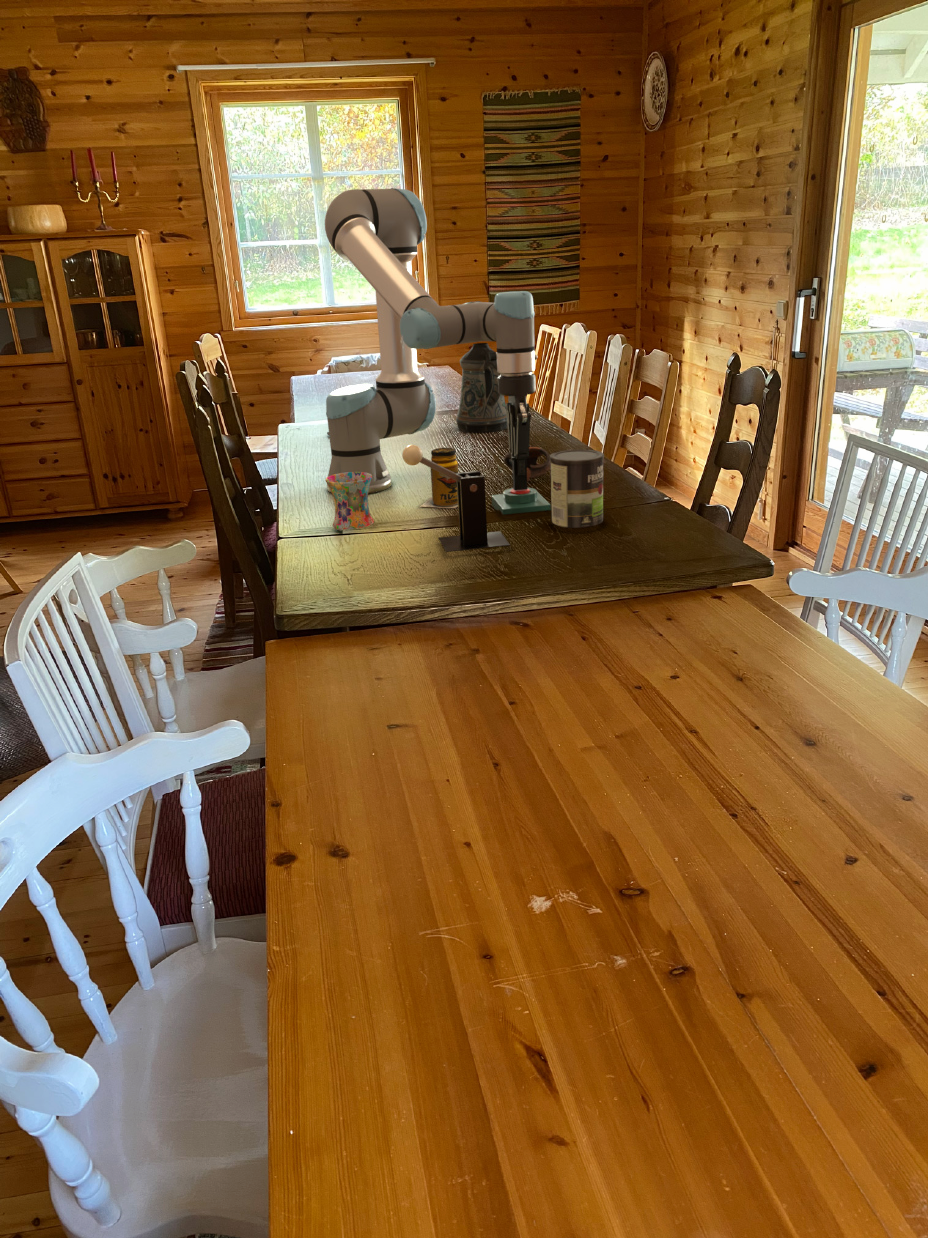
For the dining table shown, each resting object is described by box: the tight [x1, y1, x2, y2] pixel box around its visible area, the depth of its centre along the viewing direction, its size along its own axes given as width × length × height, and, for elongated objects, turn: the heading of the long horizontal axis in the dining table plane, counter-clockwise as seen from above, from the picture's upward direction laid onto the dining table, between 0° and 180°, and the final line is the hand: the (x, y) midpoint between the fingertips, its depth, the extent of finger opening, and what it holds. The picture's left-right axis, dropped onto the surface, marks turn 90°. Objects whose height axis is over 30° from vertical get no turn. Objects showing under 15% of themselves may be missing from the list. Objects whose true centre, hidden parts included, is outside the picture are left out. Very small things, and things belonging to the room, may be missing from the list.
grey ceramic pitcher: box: [455, 342, 508, 434], centre depth 276 cm, size 16×19×25 cm
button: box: [511, 489, 530, 494], centre depth 192 cm, size 4×4×2 cm
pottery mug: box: [503, 446, 551, 483], centre depth 218 cm, size 12×10×8 cm
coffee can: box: [549, 448, 605, 529], centre depth 178 cm, size 10×10×14 cm
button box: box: [491, 486, 552, 516], centre depth 192 cm, size 12×10×4 cm
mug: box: [324, 472, 375, 532], centre depth 186 cm, size 12×9×11 cm
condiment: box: [419, 447, 459, 509], centre depth 199 cm, size 7×8×12 cm
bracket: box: [438, 470, 511, 553], centre depth 169 cm, size 12×9×14 cm
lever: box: [401, 444, 471, 482], centre depth 165 cm, size 15×4×4 cm
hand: (520, 489), depth 191 cm, fingers closed
